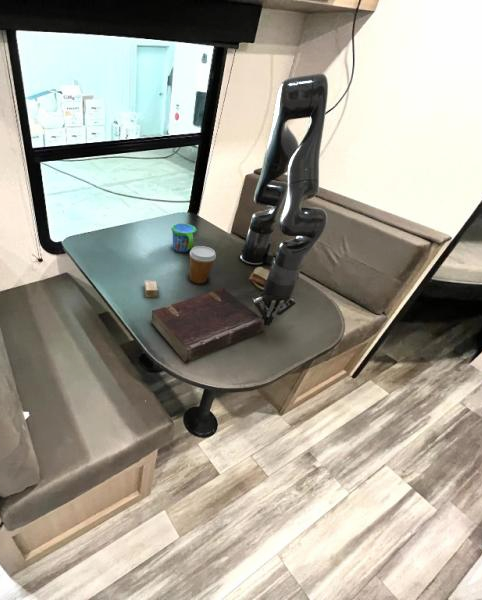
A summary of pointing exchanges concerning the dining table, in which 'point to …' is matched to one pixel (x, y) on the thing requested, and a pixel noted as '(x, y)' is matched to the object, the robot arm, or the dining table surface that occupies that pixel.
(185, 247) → the snack cup
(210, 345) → the hardback book
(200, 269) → the disposable coffee cup
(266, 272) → the toy sandwich meal
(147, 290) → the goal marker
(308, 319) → the dining table surface
